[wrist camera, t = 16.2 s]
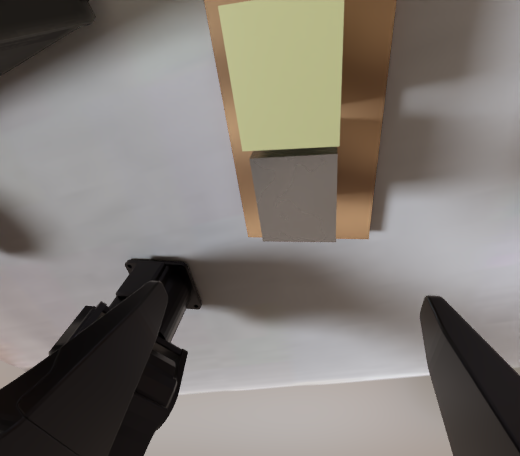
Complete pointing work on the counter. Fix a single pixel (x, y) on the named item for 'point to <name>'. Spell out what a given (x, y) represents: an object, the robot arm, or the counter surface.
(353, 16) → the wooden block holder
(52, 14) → the magazine
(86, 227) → the counter surface
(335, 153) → the grey cube-like block
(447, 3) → the counter surface
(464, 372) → the robot arm
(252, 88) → the pale yellow block
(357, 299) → the counter surface
